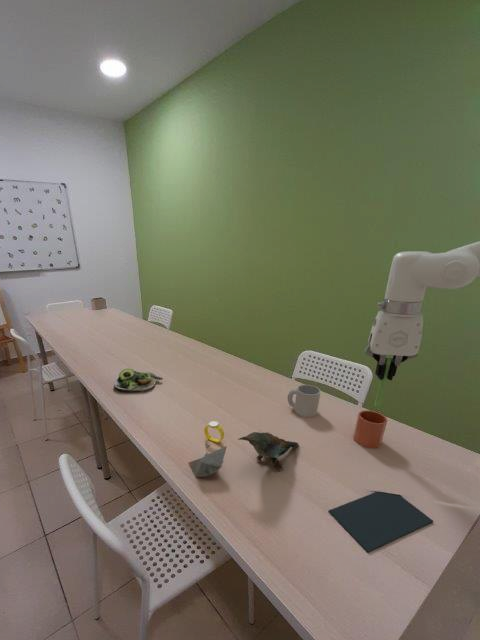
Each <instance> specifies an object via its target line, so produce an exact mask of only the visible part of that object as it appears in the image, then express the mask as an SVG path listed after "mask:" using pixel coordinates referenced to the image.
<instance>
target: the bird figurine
mask: <svg viewBox="0 0 480 640" xmlns="http://www.w3.org/2000/svg"><path fill="white" fill-rule="evenodd" d="M238 440H243V441H247V442H249V444H250V445H251V446H253V449H254V450H255V451H256V453H257V454H258V455H257V457H256V460H257V461H258V462H262V459H263V458H268V459H269V460H270V461H271V463H272V464H271V465H272V466H273V468H275V469H276V471H277V472H281V471H282V470H284V467H283V466H282V464H281V462H280V461H279V459H278V458H279V457H281V456H283V455H285V454H286V453H287V452H288V450H289V449H291V448H292V449H295V448H297V447H299V446H300V445H299V443H298V442H296V441H288V440H285V439H283V438H280V437H279V436H276V435H273V434H272V433H270V432H259V431H254V432H250V433H249V434H247V435H246V436H242V437H239V438H237V441H238Z"/></svg>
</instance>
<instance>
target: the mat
mask: <svg viewBox="0 0 480 640" xmlns="http://www.w3.org/2000/svg"><path fill="white" fill-rule="evenodd" d="M328 513H329V514H330V515H331V516H332V517H333V518H334V519H335V520H336V521H337V522H338V524H339V525H340V526H341V527H342V528H343V529H344V530H345V531H346V532H347V533H348V534H349V535H350V536H351V537H352V538H353V539H354V540H355V541H356V542H357V543H358V544H359V545H360V547H362V548H363V549H364V551H365V552H366V553H367V554H368V553H370V552H372V551H375V550H377V549H379V548H381V547H383V546H385V545H387V544H390V543H392V542H394V541H396V540H398V539H400V538H402V537H405V536H407V535H408V534H411V533H413V532H415V531H418V530H419V529H422V528H424V527H426V526H428V525H429V524H432V523H434V520H433V518H431V517H429V516H427V514H425V513H424V512H423V511H421V510H420V509H419V508H417V507H416V506H415V505H413V504H412V503H411V502H409V500H407V499H406V498H405V497H403V496H402V495H400V494H397V493H392V492H385V491H379V490H378V491H374V492H372V493H370V494H367V495H365V496H362V497H360V498H357V499H355V500H352V501H349V502H346V503H344V504H342V505H341V504H340V505H339V506H337V507H333V508H331V509H329V510H328Z"/></svg>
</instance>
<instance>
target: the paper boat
mask: <svg viewBox="0 0 480 640" xmlns="http://www.w3.org/2000/svg"><path fill="white" fill-rule="evenodd" d="M209 447H211V444H205V451H206V452H205V454H204V456H203V457H201V458H198V459H195V460H192V461H190V462H188V465H189V467H190V469H191V471H192V472H193V475H194V477H195V478H204V477H209V476H211V475H214V474H215V473H216V472H217V471H218V470H220V469H221V468H222V467H223V463H224V458H225V455H226V451H227V447H228V445H226V446H223V447H221V448H219V449H217V450H215V451H213V452H211V453H208V450H207V449H208V448H209Z"/></svg>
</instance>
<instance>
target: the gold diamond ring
mask: <svg viewBox="0 0 480 640" xmlns="http://www.w3.org/2000/svg"><path fill="white" fill-rule="evenodd" d="M219 424H220V423H219V422H218V421H215V420H214V421H213V420H212V421H209V423H208V424H206V425H205V427H204V429H203V432H204V435H205V438H206V439H208V440H209V441H210V442H214V443H217V444H219V443H221V442H222V441H223V439H224V437H225V432H224V430H223V428H222V426H221V425H219ZM208 428H211V429H216V430H218V432H219V433H220V438H215V437H213V436H211V434H210V433H209V430H208Z"/></svg>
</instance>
